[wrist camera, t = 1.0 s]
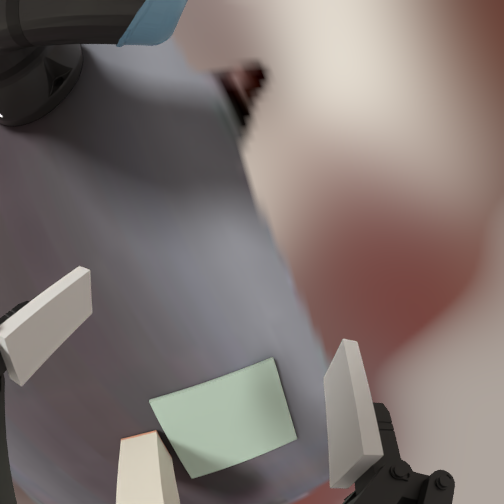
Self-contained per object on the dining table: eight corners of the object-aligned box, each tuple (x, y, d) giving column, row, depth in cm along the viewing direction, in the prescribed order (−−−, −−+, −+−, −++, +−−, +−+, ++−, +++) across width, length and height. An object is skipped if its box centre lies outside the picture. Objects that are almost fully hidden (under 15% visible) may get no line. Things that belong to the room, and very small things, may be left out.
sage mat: (149, 399, 31) (149, 401, 31) (271, 357, 36) (273, 358, 35) (191, 476, 32) (191, 478, 32) (295, 436, 37) (297, 438, 36)
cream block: (121, 438, 30) (115, 514, 16) (156, 430, 31) (164, 506, 18) (138, 465, 30) (141, 540, 17) (171, 457, 32) (186, 532, 18)
